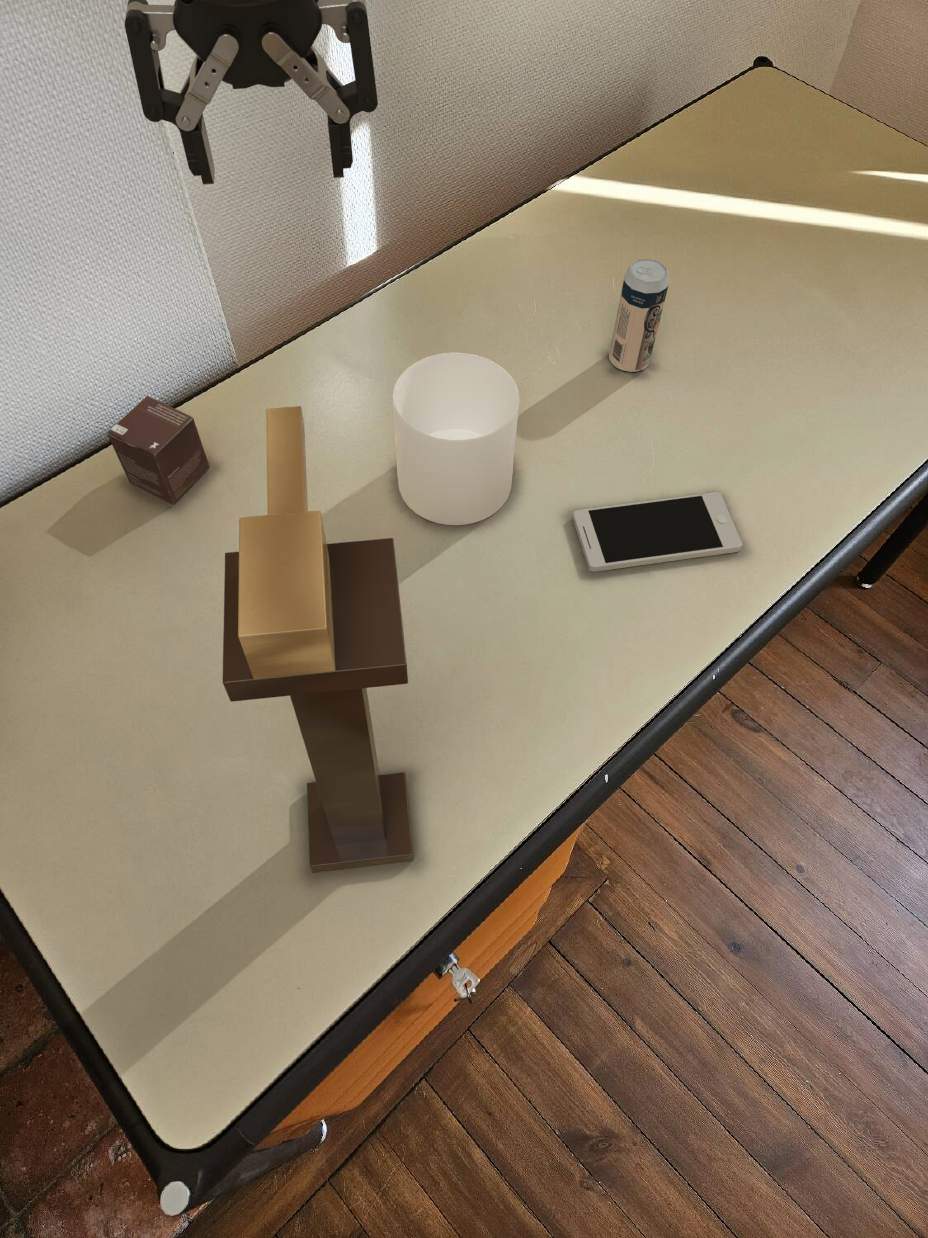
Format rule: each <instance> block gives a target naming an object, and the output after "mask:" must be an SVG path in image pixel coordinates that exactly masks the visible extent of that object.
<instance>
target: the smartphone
mask: <svg viewBox="0 0 928 1238" xmlns="http://www.w3.org/2000/svg"><path fill="white" fill-rule="evenodd" d="M572 522H573V524H574V525H573V526H574V527H575V530H576V534H577V537H578V540H579V544H580V547H581V550H582V554H583V556H584V559H585V562H586V565H587V568H588V571H589V572H604V571H609V570H618V569H624V568H632V567H638V566H646V565H653V564H659V563H667V562H674V561H681V560H687V559H688V560H689V559H697V558H703V557H711V556H717V555H725V554H731V553H737V552H740V551H741V550H742V548H743V541H742V539H741V537H740V535H739V532H738V530H737V528H736V525H735V523H734V521H733V519H732V516H731V513H730V512H729V510H728V507H727V505H726V502H725V500H724V497H723V495H722V493H720V492H719V491H718V492H717V491H715V492H714V491H713V492H705V493H697V494H690V495H682V496H675V497H667V498H659V499H653V500H645V501H637V502H629V503H621V504H614V505H607V506H606V505H605V506H598V507H590V508H582V509H576V510H574V511H573V512H572Z"/></svg>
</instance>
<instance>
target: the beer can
mask: <svg viewBox="0 0 928 1238" xmlns="http://www.w3.org/2000/svg"><path fill="white" fill-rule="evenodd" d="M670 278H671V277H670V274H669V271H668V267H667V266H666V265H665V264H663V262H661V261H660V260H657V259H653V258H650V257H648V258H637V259H636V260H635V261H634V262H632V263H630V265H629V266H628V267H627V268H626V270H625V271H624V274H623V281H622V286H621V287H622V288H621V291H620V297H619V302H618V307H617V313H616V318H615V322H614V328H613V333H612V338H611V343H610V349H609V352H608V359H609V362H610V363H611V364H612V366H614V367H615V368H616V369H618V370H621V371H624V372H627V373H629V372H630V373H631V372H633V373H636V372H639V371H643V370H645V369H646V368H647V367H648V366H649V365H650V363H651V358H652V355H653V350H654V347H655V342H656V338H657V334H658V330H659V326H660V322H661V318H662V313H663V311H664V310H663V309H664V307H665V306H664V305H665V301H666V298H667V294H668V290H669V285H670V282H671V280H670Z"/></svg>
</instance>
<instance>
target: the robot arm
mask: <svg viewBox="0 0 928 1238" xmlns="http://www.w3.org/2000/svg"><path fill="white" fill-rule="evenodd" d="M368 18H369V17H368V10H367V3H366V0H174V4H173V5H172V4H149V2H148V1H147V0H128V1H127V6H126V12H125V18H124V29H125V33H126V37H127V38H126V39H127V43H128V48H129V52H130V53H129V54H130V57H131V61H132V67H133V72H134V76H135V81H136V86H137V91H138V94H139V100H140V104H141V110H142V113H143V115H144V117H145V118H146V119H147V120H148V121H150V122H152V123H159V122H161V121H164V122H168V123H171V124H172V125H174V126H175V127H176V128H177V129H178V131H179V134H180V138H181V141H182V146H183V151H184V155H185V158H186V161H187V165H188V169H189V171H190V172H191V174H192V175H193V177H198V176H199V177H200V178H201V182H202V185H203V186H204V185H214V184H215V175H216V170H215V163H214V157H213V153H212V148H211V144H210V140H209V135H208V130H207V127H206V122H205V116H204V112H205V109H206V107H207V106H209V105H210V103H211V102H212V99H213V98H214V96H215V94H216V92H217V90H218V89H219V86H220V85H221V83H225V84H227V85H230V86H231V87H232V90H243V89H244V90H245V89H248V88H252V87H255V86H258V85H260V86H265V87H268V88H285V86H286V83H288V82H289V81H291V80H292V81H293V82H294V83H295V84H296V85H297V86H298V87H299V89H301V91H302V92H303V93H304V94H305V95H306V96H307V97H308V98H309V99H310V100H311V101H313V100H314V101H315V102H316V103H317V105H319V107H320V108H321V109H322V110H323V111H324V112H325V113H326V118H327V129H328V139H329V147H330V148H329V149H330V157H331V168H332V173H333V174H332V175H333V179H341V178H345V174H344V173H345V172H344V170H345V169H351V168H352V166H353V162H354V155H353V144H352V133H351V121H352V118H353V117H354V116H356V115H357V114H359V113H361V112H365V113H372V112H374V111H376V109H378V104H379V102H378V101H379V100H378V92H377V83H376V75H375V67H374V59H373V52H372V43H371V34H370V26H369V19H368ZM323 25H327V26H329V27H330V28H331V29H332V30H333V31H334V34H335V37H336V39H337V40H338V41H339V42H340V43H343V44H349V45H350V52H351V60H352V67H353V75H354V80H352V81H350V82H348V83H346V84H343V83H342V82H341V81H340V80H339V79H338V77H337V76H336V75H335V74H334V73H333V71H332V70H331V69H330V68H329V67H328V65H327V63H326V60H325V59H324V57H322V55H321V53H319V51H318V49H316V48H315V47H314V43H315V41H316V40H317V38H318V36H319V35H320V32H321V31H322V28H323V27H322V26H323ZM172 31H175V32H176V34H177V35H178V37H179V38H180V39H181V41H183V42H184V44H186V45H187V47H188V48H189V49H190V50H191V51H192V52H193V53H194V54H195V57H194V59H193V61H192V64H191V67H190V70H189V73H188V75H187V77H186V79H185V81H184V83H183V84H182V87H181V89H180V91H179V92H177V91H175V90H171V89H167V88H166V87H165V81H164V76H163V70H162V65H161V60H160V54H159V52H160V51H162V50H164V49H165V47H166V45H167V36H168V34H169V33H170V32H172Z"/></svg>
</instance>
